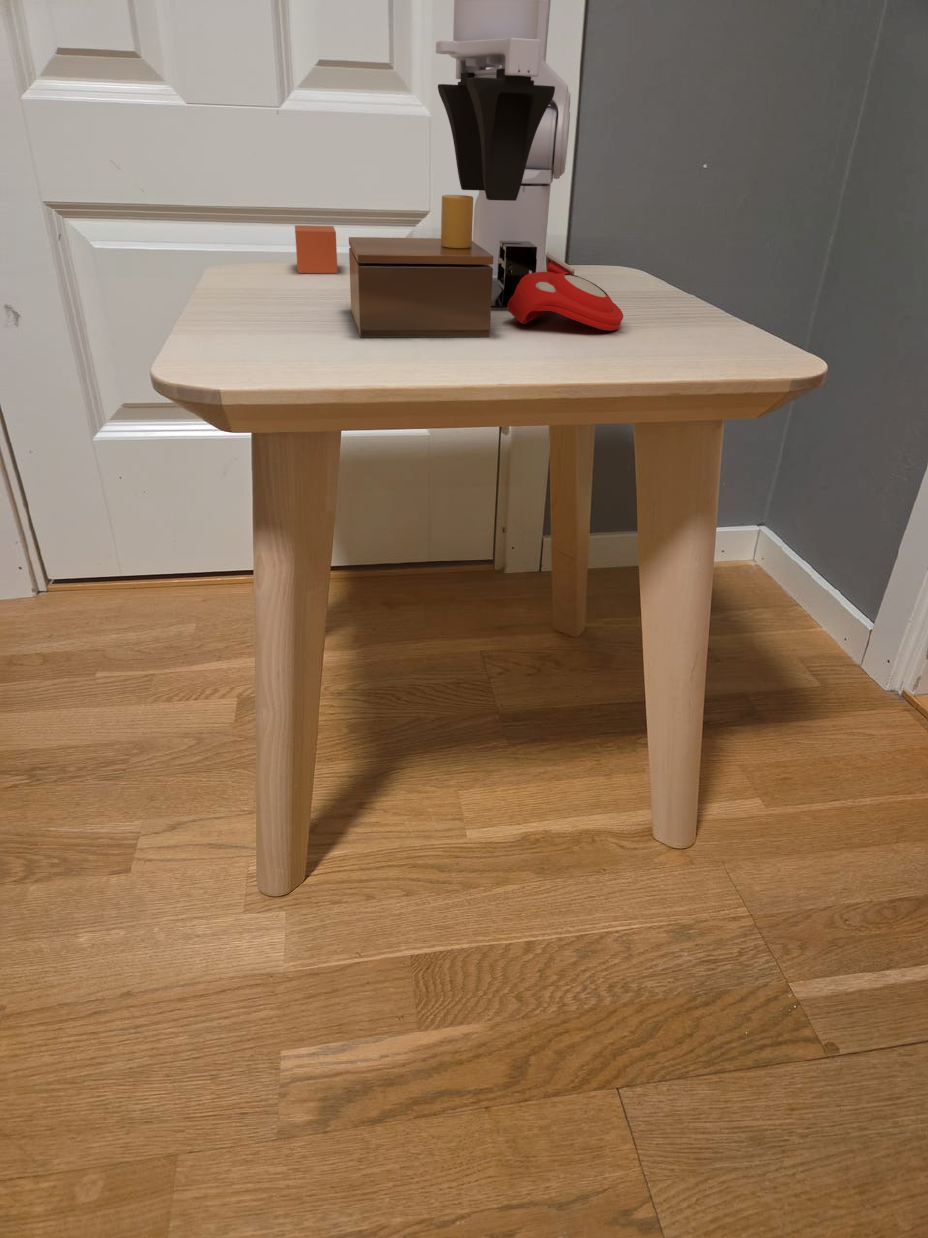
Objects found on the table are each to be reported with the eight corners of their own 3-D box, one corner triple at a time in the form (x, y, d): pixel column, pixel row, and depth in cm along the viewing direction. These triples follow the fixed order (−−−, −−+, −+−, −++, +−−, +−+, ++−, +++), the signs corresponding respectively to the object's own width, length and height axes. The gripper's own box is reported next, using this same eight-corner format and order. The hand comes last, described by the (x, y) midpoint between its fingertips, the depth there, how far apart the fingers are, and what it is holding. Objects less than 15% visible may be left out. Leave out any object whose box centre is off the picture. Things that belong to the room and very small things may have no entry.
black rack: (469, 284, 83) (471, 233, 80) (540, 285, 83) (544, 235, 81) (487, 309, 72) (490, 251, 70) (568, 310, 73) (574, 253, 71)
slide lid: (348, 244, 66) (347, 187, 64) (469, 246, 68) (471, 191, 66) (358, 263, 59) (356, 199, 57) (493, 264, 61) (496, 202, 58)
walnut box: (351, 311, 69) (348, 247, 66) (467, 311, 71) (469, 249, 68) (360, 337, 62) (358, 266, 59) (489, 336, 63) (493, 267, 61)
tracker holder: (652, 314, 67) (564, 295, 61) (626, 363, 69) (538, 349, 63) (570, 249, 73) (483, 226, 67) (549, 296, 76) (463, 278, 70)
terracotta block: (297, 266, 87) (294, 225, 85) (335, 266, 88) (333, 225, 85) (298, 273, 84) (295, 230, 81) (337, 273, 84) (335, 230, 82)
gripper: (417, -29, 59) (416, 184, 66) (465, -60, 47) (457, 203, 54) (511, -21, 60) (500, 186, 68) (580, -50, 49) (558, 205, 56)
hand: (487, 194), depth 61 cm, fingers open, 7 cm apart
